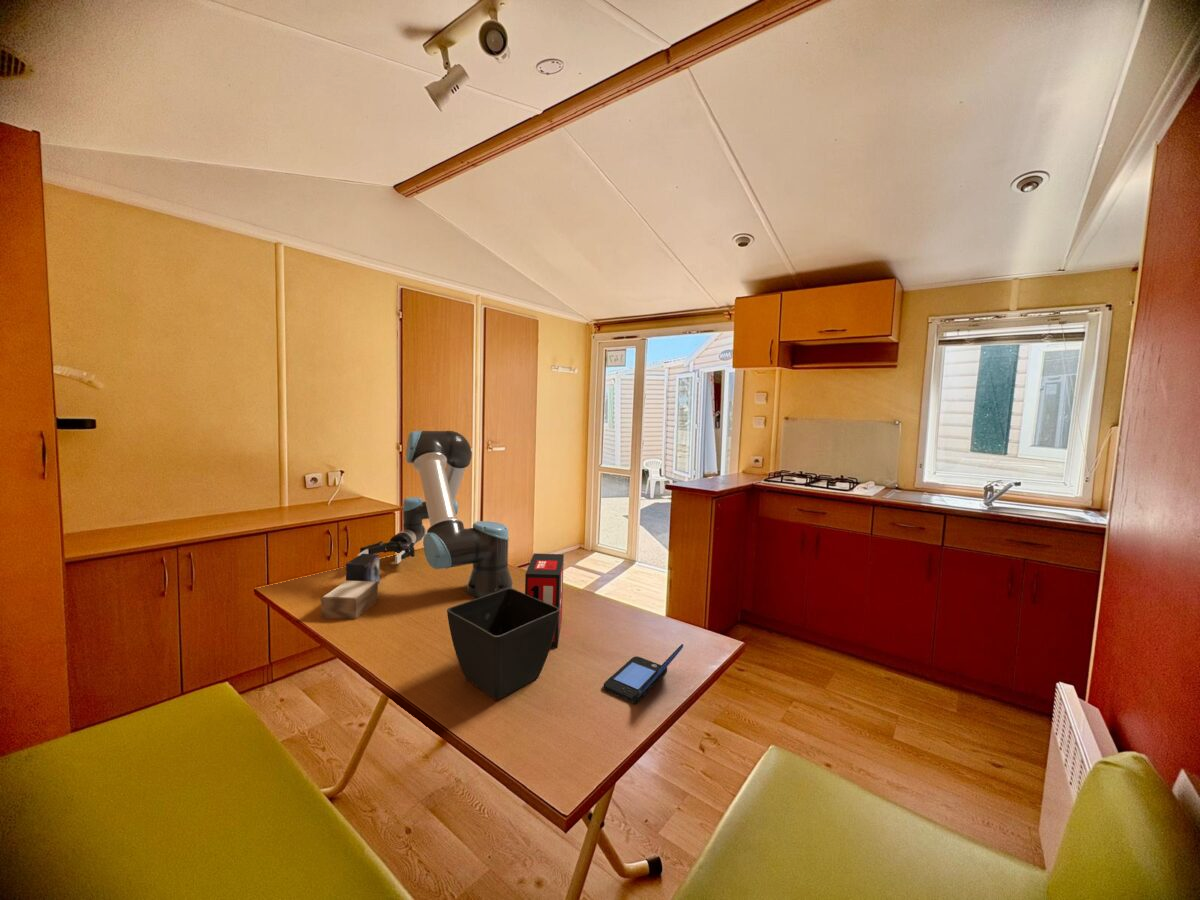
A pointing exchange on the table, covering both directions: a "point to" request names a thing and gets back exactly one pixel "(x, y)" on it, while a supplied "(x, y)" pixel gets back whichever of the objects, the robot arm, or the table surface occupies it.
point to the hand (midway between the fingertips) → (377, 559)
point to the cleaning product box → (547, 583)
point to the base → (349, 599)
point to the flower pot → (502, 639)
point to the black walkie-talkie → (637, 677)
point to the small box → (363, 568)
